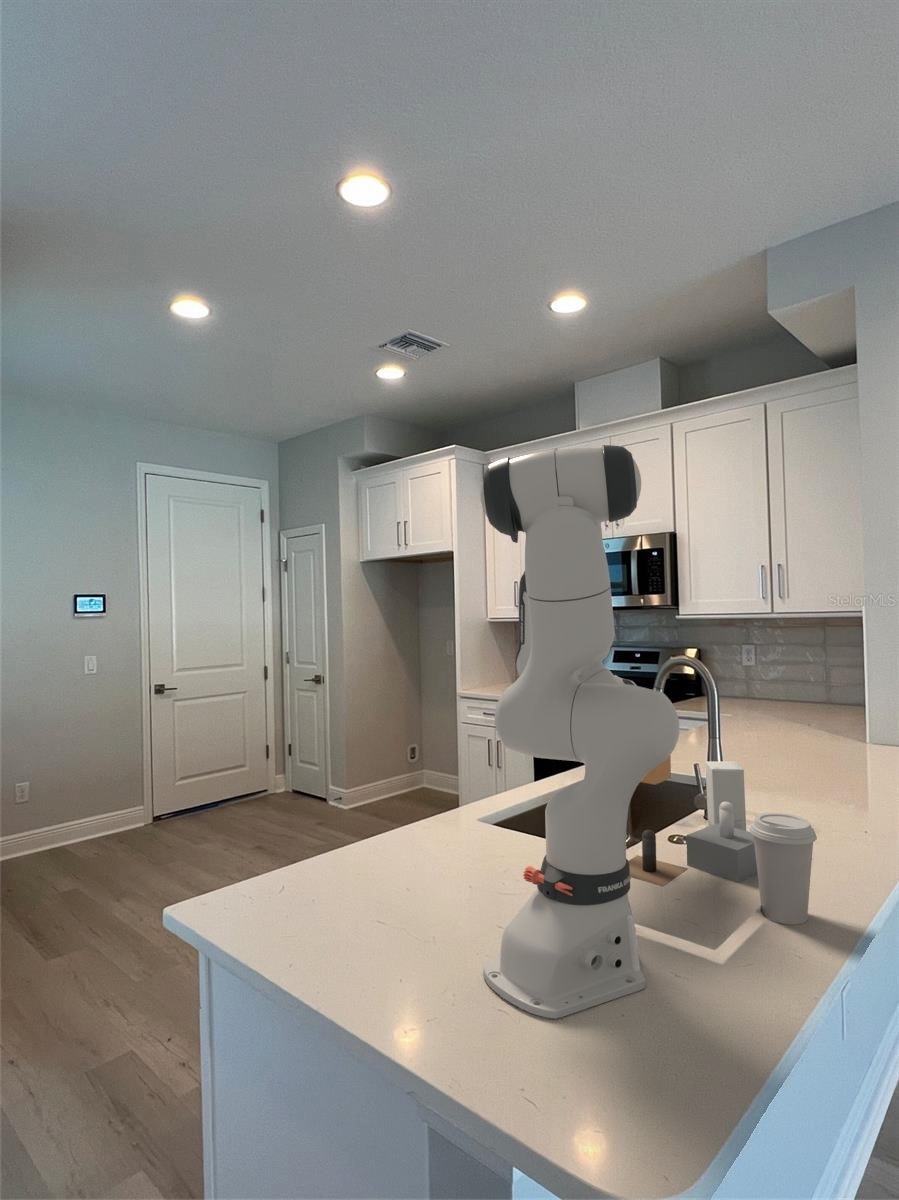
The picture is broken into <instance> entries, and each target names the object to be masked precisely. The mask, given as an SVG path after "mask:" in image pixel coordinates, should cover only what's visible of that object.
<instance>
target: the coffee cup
mask: <svg viewBox="0 0 899 1200" xmlns="http://www.w3.org/2000/svg"><path fill="white" fill-rule="evenodd" d="M749 832H751V834H752V835H753V838H754V846H755V854H756V863H757V879H758V889H759V897H760V904H761V905H760V907H761V914H762V915H763V916H764V917H765V918H766V919H768V920H770V921H771V922H774V923H778V924H783V925H788V926H790V925H791V926H793V925H794V926H798V925H803V924H804V923H806V922H807V921H808V914H809V913H808V912H809V903H810V902H809V901H810V887H811V876H812V873H811V872H812V863H813V862H812V861H813V859H812V858H813V849H814V842H816V841H817V840H818V839H817V838H818V837H817V833H816V831H815V829H814V828H813V827H812V824H811V822H810V821H809V820H807V818H804V817H801V816H798V815H794V814H790V813H781V812H765V813H760V814H756V816H755V817H754V820H753V822H752V823H751V825H750V827H749Z"/></svg>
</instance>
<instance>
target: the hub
mask: <svg viewBox="0 0 899 1200" xmlns="http://www.w3.org/2000/svg"><path fill="white" fill-rule="evenodd" d="M719 820H720V824H718V823H717V824H714V825H712V826H709V827H708V826H707V827H704V828H701V829H699V830H696V831H693V832H690V833H688V834H686V866H688V867H691V868H694V869H696V870H699V871H703V872H706V873H709V874H711V875H714V876H718V877H721V878H724V879H726V880H730V881H733V882H735V883H740V882H742V881H745V880H746V879H749V878H750V877H753V876H755V875H756V874H757V875H758V873H757V863H756V854H755V846H754V838H753V835H752V834H751V832H750V831H747V830H746V831H744V830H740V829H736V828H734V809H733V806H732V804H731V803H729V802H722V803H721V804H720V806H719Z"/></svg>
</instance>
